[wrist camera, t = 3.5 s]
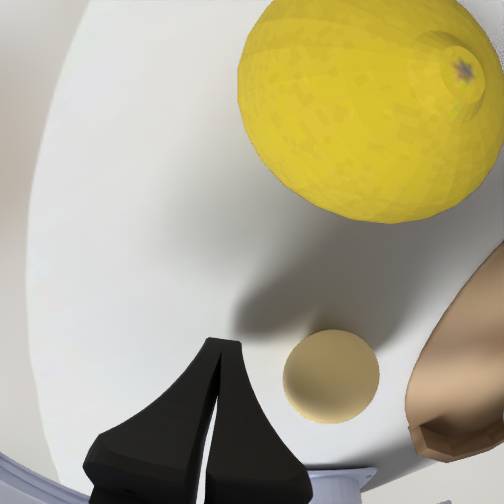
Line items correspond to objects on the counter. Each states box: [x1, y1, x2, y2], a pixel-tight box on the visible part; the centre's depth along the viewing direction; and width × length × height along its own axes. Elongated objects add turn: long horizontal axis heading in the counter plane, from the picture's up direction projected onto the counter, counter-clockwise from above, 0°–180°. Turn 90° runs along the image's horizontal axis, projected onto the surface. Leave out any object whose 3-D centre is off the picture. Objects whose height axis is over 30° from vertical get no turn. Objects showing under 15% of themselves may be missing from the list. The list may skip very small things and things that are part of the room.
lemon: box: [238, 0, 504, 224], centre depth 6 cm, size 6×6×8 cm
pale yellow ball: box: [283, 330, 380, 424], centre depth 12 cm, size 4×4×4 cm
